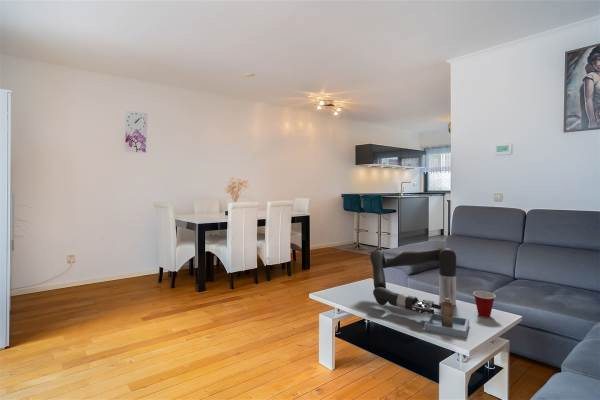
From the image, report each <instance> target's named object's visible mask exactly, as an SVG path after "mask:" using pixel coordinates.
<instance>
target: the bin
mask: <svg viewBox="0 0 600 400" xmlns="http://www.w3.org/2000/svg"><path fill="white" fill-rule="evenodd" d="M469 326H470V319H469V318H467V317H460V316H454V315H453V327H452V328H450V327H445V326H442V313H438V312H434V314H430V313H429V316H428V318H427V319H426V321H425V322H424V331H428V332H432V333H438V334H442V335H449V336H453V337H459V338H463V339H466V338H467V335H468V330H469Z"/></svg>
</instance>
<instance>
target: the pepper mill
mask: <svg viewBox="0 0 600 400" xmlns="http://www.w3.org/2000/svg"><path fill="white" fill-rule="evenodd" d="M453 307H454V305H453V302H451V301H450V299H449V298H444V301H442V304H441V314H442V326H445V327H450V328H452V327H453V316H454V314H453V313H454V312H453V310H454V308H453Z"/></svg>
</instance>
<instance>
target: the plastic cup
mask: <svg viewBox="0 0 600 400" xmlns="http://www.w3.org/2000/svg"><path fill="white" fill-rule="evenodd" d="M472 293H473V294H472V295H473V296H474V300H475V306H476V310H477V314H478V316H480V317H483V318H490V317H491V316H492V309H493V306H494V305H493V304H494V300H495V299H496V297H497V296H496V294H494V293H493V292H489V291H487V290H486V291H484V290H476V291H473V292H472Z"/></svg>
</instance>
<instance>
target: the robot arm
mask: <svg viewBox="0 0 600 400" xmlns="http://www.w3.org/2000/svg"><path fill="white" fill-rule="evenodd" d="M369 258H370V263H371V265H372V275H373V288H374V289H373V291H372V295H373V297H374V298H375V302H376V303H377V304H378V305H380V306H385V305H387V303H388V304H390V306H393V307H398V308H400V309H403V310H407V311H411V312H416V313H419V314H425V313H427V314H429V315H430V314H434V313H435V310H442V301H444V298H449V299H450V301H451V302H453V306H456V305H457V304H456V303H457V255H456V252H455V251H454V249H452V248H449V247H443V248H438V249H432V250H429V249H428V250H421V249H419V250H405V251H403V252H401V253H399V254H398V255H397V256H395V257H391V258H389V257H388V258H386V257H385V255H384V252H383V251H382V250H380V249H375V250H372V251H371V252H370V254H369ZM436 262H437V263H438V267H439V268H438V270H439V271H438V273H439V274H438V276H439V277H438V279H439V282H438V285H439V286H438V289H439V290H438V293H439V294H438V297H439V298H438V301H439V304H437V303H435V301H433V300H427V299H422V300H420V299H419V298H418V297H416V296H413V295H408V294H404V293H397V292H394V291H392V290H390V289H387V284H386V283H387V282H386V276H385V271H384V269H388V268H394V267H395V268H396V267H407V266H408V267H412V266H413V267H414V266H421V265H426V264H429V263H436Z"/></svg>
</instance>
